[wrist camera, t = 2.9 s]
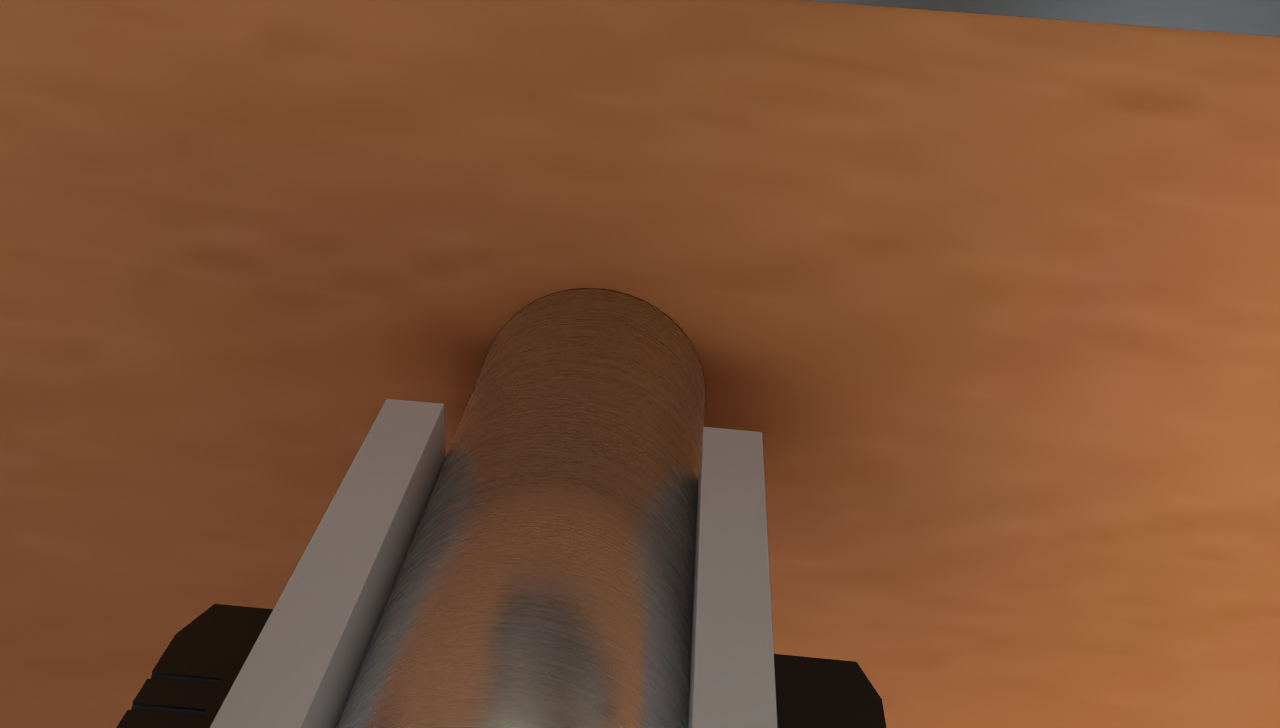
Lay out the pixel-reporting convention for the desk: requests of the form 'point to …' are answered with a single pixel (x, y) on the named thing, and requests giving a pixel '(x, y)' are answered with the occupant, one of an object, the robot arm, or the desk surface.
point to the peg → (554, 536)
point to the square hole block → (1120, 12)
